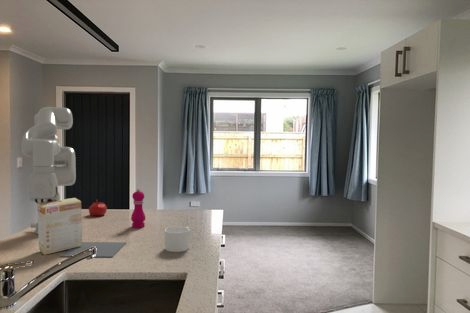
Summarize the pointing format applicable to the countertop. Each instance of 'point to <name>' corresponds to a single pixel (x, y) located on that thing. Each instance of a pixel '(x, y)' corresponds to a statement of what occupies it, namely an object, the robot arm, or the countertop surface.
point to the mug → (177, 239)
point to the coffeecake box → (59, 225)
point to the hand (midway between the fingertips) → (44, 215)
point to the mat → (102, 248)
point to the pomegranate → (97, 209)
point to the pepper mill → (138, 210)
